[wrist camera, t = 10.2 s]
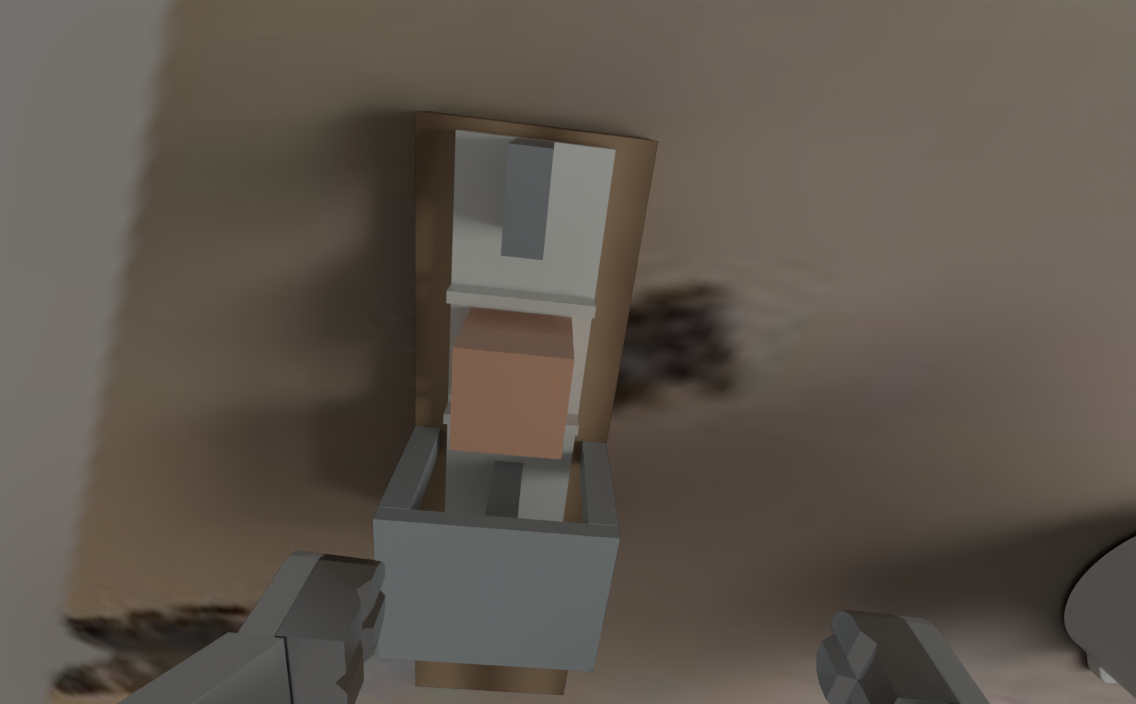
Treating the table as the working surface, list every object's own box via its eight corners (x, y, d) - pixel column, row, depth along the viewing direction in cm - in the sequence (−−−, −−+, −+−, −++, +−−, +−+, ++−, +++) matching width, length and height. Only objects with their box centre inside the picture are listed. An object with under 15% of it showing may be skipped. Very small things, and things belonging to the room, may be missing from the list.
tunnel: (606, 443, 31) (620, 537, 24) (586, 560, 35) (593, 672, 28) (415, 425, 30) (372, 518, 23) (415, 547, 34) (378, 658, 27)
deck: (648, 138, 27) (658, 141, 24) (563, 658, 43) (563, 695, 40) (430, 111, 26) (415, 111, 24) (424, 649, 42) (415, 686, 39)
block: (571, 317, 27) (574, 359, 22) (560, 404, 29) (561, 459, 24) (471, 307, 26) (452, 347, 22) (467, 395, 28) (449, 449, 24)
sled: (613, 148, 24) (629, 158, 19) (562, 510, 33) (563, 590, 27) (459, 129, 24) (430, 134, 18) (448, 501, 32) (425, 580, 27)
